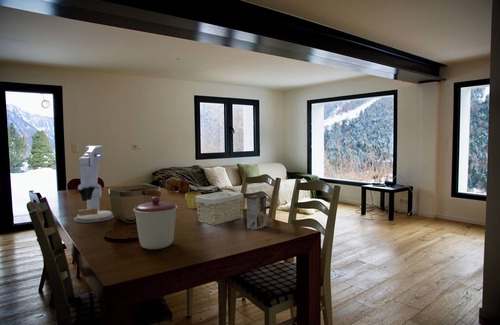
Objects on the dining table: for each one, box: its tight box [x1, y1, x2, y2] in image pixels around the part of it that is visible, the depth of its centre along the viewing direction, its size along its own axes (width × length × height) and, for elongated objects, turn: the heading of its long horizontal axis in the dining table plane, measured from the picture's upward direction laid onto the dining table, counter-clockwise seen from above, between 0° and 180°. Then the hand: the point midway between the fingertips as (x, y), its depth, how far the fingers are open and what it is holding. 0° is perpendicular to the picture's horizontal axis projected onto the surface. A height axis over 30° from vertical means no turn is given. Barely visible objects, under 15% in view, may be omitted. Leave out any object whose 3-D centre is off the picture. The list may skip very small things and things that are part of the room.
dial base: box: [73, 213, 115, 224], centre depth 192 cm, size 22×22×2 cm
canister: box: [133, 196, 179, 250], centre depth 140 cm, size 18×18×21 cm
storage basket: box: [195, 190, 244, 226], centre depth 185 cm, size 24×16×15 cm
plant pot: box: [184, 192, 202, 210], centre depth 221 cm, size 10×10×10 cm
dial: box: [76, 208, 112, 220], centre depth 192 cm, size 18×18×4 cm
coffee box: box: [246, 194, 267, 230], centre depth 169 cm, size 9×6×16 cm
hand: (86, 200), depth 194 cm, fingers open, 4 cm apart
